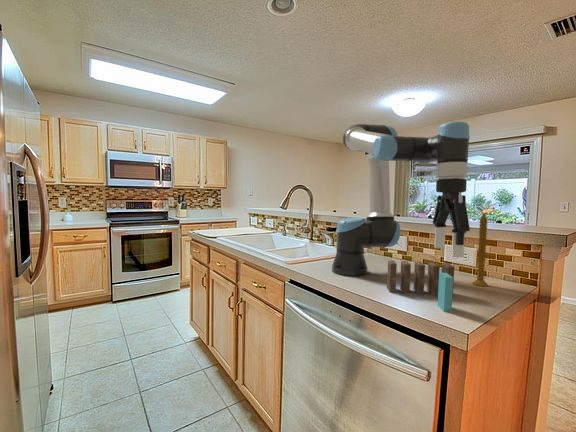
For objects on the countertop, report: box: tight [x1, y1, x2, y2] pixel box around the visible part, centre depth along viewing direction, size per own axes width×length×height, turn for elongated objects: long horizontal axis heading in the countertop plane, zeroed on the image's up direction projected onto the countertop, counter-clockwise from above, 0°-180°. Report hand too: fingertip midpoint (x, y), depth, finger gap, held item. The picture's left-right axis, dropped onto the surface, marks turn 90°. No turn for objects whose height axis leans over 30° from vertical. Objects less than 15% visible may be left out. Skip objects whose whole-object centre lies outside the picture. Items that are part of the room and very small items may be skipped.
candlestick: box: [471, 212, 489, 287], centre depth 106 cm, size 27×5×5 cm
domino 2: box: [399, 260, 412, 295], centre depth 98 cm, size 2×5×10 cm, turn 170°
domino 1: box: [386, 259, 398, 294], centre depth 99 cm, size 2×5×10 cm, turn 170°
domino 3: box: [413, 261, 426, 296], centre depth 97 cm, size 2×5×10 cm, turn 170°
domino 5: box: [441, 262, 455, 298], centre depth 96 cm, size 2×5×10 cm, turn 170°
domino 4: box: [426, 261, 441, 297], centre depth 97 cm, size 2×5×10 cm, turn 170°
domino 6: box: [437, 272, 454, 313], centre depth 83 cm, size 2×5×10 cm, turn 170°
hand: (447, 252), depth 82 cm, fingers open, 13 cm apart
